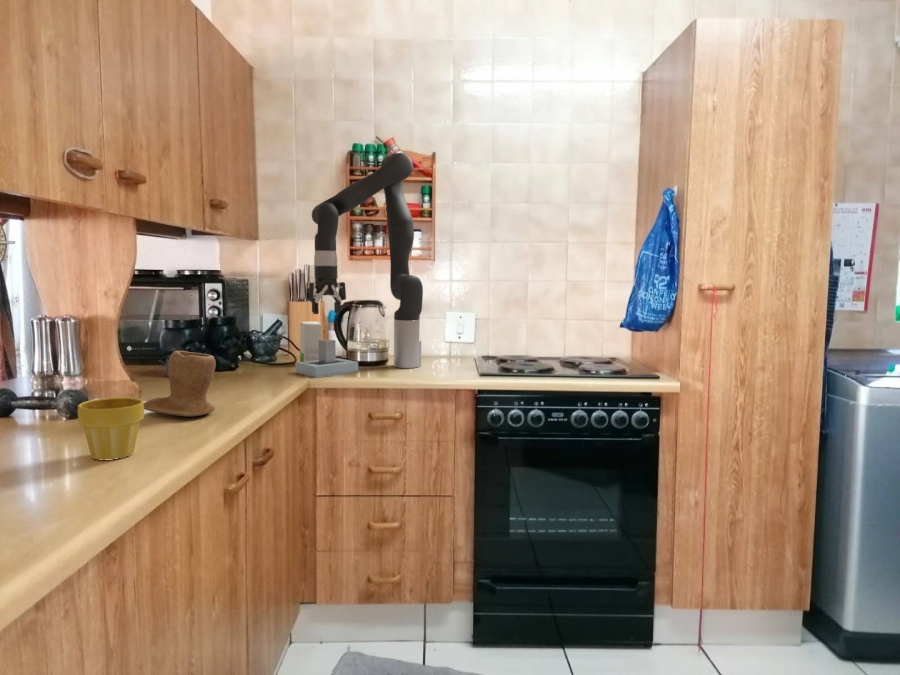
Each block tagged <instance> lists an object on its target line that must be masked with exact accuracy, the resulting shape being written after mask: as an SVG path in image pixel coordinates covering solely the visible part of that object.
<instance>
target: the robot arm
mask: <svg viewBox="0 0 900 675" xmlns="http://www.w3.org/2000/svg"><path fill="white" fill-rule="evenodd" d="M413 169H414V163H413V160H412V159H411V157H410V156H409V155H408V154H406V153H403V152H395V153H392V154H391V155H388V156H386V157H384V158H383V159H382V161H381V164H380V168H378V169H377V170H376V171H374V172H372V173H370V174H368V175H366V176H365V177H363V178H361V179H358V180H357V181H355V182H352V183H351V184H350V185H348V186H346V187H345V188H343V189H341V191H339V192H338V193H336V194H335V195H333V196H332V197H330V198H328V199H326V200H324V201H322V202H321V203H319V204H317V205H315V206H314V208H313V209H312V211H311V218H312V221H313V222H314V223H315V224H316V225H317V232H316V233H315V235H314V258H313V259H314V261H313V263H314V264H313V266H314V268H313V270H314V280H315V281H314V283H313V282H306V285H305V286H306V289H305V291H306V292H305V298H306V299H305V300H306V301H307V302H311V312H312V314H313V315H319V301H320V299H321V298H322V297H323V296H330V297H332V298H333V301H334V302H333V303H334V304H333V305H334V307H333V308H334V313H335V314H340V313H341V310H342V301H345V300H346V299H347V294H346V293H347V292H346V283H345V282H343V281H339V282H338V281H337V280H338V254H337V234H338V226H339V219H340V218H339V217H341V216H342V215H343V214H346V213H348V212H351V211H352V210H354V209H355V208H357V207H358V206H360V205H361V204H363V203H364V202H366V201H367V200H369V199H370V198H372V197H373V196H374V195H375V194H377V193H379V192H381V191H382V190H384V191H383V192H384V198H385V211H386V223H387V224H386V225H387V226H386V228H387V236H388V248H389V249H388V250H389V260H390V261H389V262H390V272H389V273H390V276H389V277H390V279H389V283H390V285H389V286H390V291H391V294H392V296H393V298H395V299H396V300H399V307H398V308H397V310H396V311H394V313H393V367H394V368H399V369H400V368H401V369H415V368H418V367H421V366H422V340H421V339H420V320H421V318H420V316H421V314H422V310H423V298H424V295H423V294H424V288H423V283H422V281H421V279H420V278H419V277H418V276H416V275H411V274H410V269H409V260H410V254H411V251H412V247H413V244H414V238H415V233H414V232H415V231H414V221H413V216H412V212H411V211H410V208H409V205H408V203H407V201H406V197H405V194H404V180H406V179H408V178H409V177H410V176H411V174H413V173H412V172H413V171H414V170H413ZM314 289H316V290H315V291H314ZM337 289H338V290H337Z"/></svg>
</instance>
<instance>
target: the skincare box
mask: <svg viewBox="0 0 900 675" xmlns="http://www.w3.org/2000/svg"><path fill="white" fill-rule="evenodd" d="M299 323H300V324H299V325H300V326H299V328H300V331H299V332H300V333H299V334H300V338H299V362H306V361H315V360H319V340H322V331H323V330H322V325H323V324H322V323H320V322H318V321H317V320H316V321H300V322H299Z"/></svg>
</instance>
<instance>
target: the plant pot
mask: <svg viewBox="0 0 900 675" xmlns="http://www.w3.org/2000/svg"><path fill="white" fill-rule="evenodd" d="M144 403H145V401H144V400H143V399H142V398H137V397H127V396H126V397H123V396H121V397H119V396H117V397H104V398H103V397H102V398H97V399H91V400H87V401H83V402H81V403H79V404H78V405H77V420H78V424H79V425H80V426H82V428H83V432H84V436H85V437H86V438H85V439H86V442H87V447H88V450H89V453H90V457H91V459H92V458H94V459H103V460H105V459H115V458H121V457H125V456H128V455H131V454H132V453H133V452H135V448H136V443H137V438H138V433H139V427H140V422H142V420H144V417H145V410H144ZM133 454H134V453H133ZM133 454H132V455H133ZM132 455H131V456H132ZM94 459H93V460H94Z"/></svg>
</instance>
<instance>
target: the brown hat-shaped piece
mask: <svg viewBox="0 0 900 675" xmlns="http://www.w3.org/2000/svg"><path fill="white" fill-rule="evenodd" d="M216 366H217V362H216V359H215V356H214V355H211V354H206V353H201V352H190V351H186V350H175V351H173V352H172V353H171V354H170V356H169V358H168V364H167V369H168V370H167V373H168V376H167V377H168V380H169V386H170V395H169V396H165V397H164V396H163V397H161V396H160V397H155V398H151V399H148V400H147V401H144V411H149V412H153V413H158V414H164V415H170V416H178V417H197V416H204V415H207V414H211V413H212V412H214V411H215V410H216V409H215V406H214V405H212V404H210V403H209V402H208V400H207V393H208V390H209V389H210V385H211V383H212V382H213V381H212V380H213V377H214V374H215V370H216Z"/></svg>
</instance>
